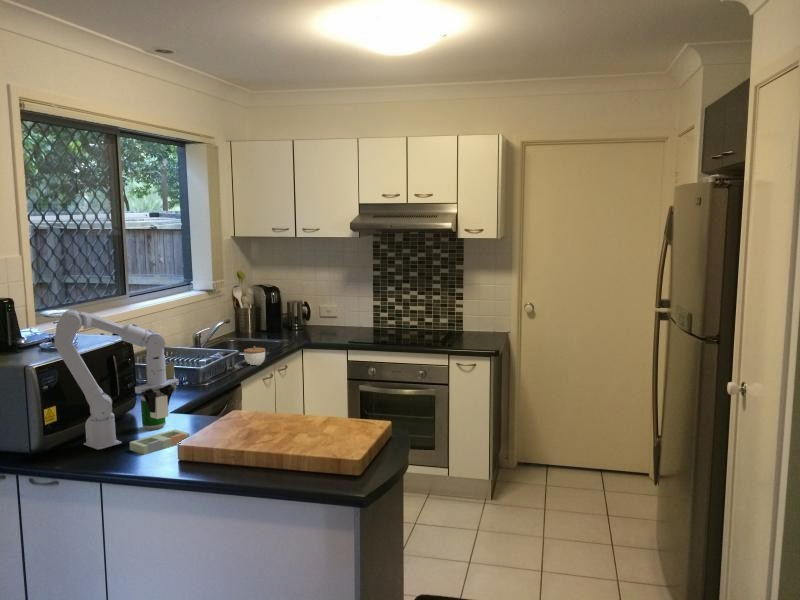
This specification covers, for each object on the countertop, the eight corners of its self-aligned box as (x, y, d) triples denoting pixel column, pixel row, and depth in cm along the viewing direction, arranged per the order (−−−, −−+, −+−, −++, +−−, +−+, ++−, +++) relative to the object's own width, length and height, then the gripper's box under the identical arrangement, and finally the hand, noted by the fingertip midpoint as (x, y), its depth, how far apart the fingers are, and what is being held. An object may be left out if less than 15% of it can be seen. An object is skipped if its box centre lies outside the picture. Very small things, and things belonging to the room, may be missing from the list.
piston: (162, 367, 276) (139, 366, 280) (164, 395, 278) (141, 394, 281) (179, 361, 287) (157, 360, 291) (180, 389, 288) (159, 388, 292)
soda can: (161, 430, 227) (159, 395, 226) (139, 431, 227) (136, 396, 226) (168, 424, 234) (166, 390, 233) (147, 424, 234) (145, 391, 233)
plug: (150, 417, 218) (149, 393, 217) (161, 414, 221) (160, 391, 220) (157, 419, 216) (156, 395, 215) (168, 416, 219) (167, 392, 218)
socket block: (129, 449, 207) (129, 441, 206) (175, 436, 219) (175, 428, 219) (144, 454, 202) (143, 445, 201) (190, 441, 214) (189, 432, 214)
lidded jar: (269, 364, 338) (268, 346, 337) (248, 367, 332) (247, 348, 331) (261, 361, 347) (260, 343, 346) (241, 364, 341) (240, 346, 340)
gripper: (142, 375, 209) (145, 417, 210) (183, 367, 220) (185, 407, 222) (130, 372, 213) (133, 414, 215) (170, 364, 225) (173, 404, 226)
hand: (158, 410), depth 218 cm, fingers closed on plug, 4 cm apart
